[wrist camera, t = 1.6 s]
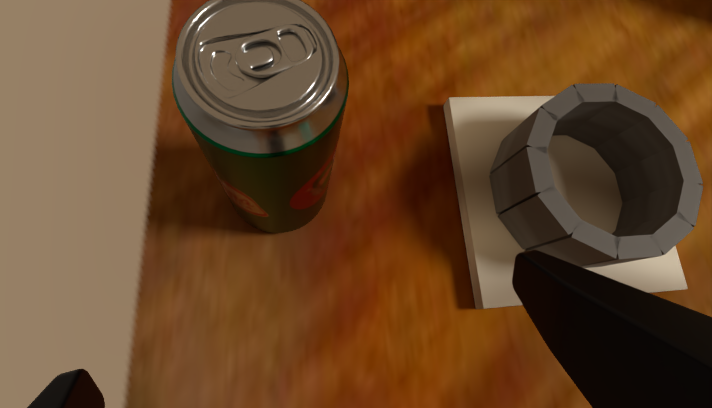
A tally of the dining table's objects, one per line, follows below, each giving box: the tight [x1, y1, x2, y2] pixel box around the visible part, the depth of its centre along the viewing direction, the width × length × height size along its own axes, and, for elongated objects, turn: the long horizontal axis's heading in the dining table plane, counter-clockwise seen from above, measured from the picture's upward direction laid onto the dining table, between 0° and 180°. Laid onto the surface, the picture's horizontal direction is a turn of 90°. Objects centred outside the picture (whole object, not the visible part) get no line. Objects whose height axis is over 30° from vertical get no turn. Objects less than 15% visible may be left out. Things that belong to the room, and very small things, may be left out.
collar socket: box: [443, 84, 703, 309], centre depth 22 cm, size 12×12×5 cm
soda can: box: [172, 0, 349, 233], centre depth 17 cm, size 5×5×12 cm
